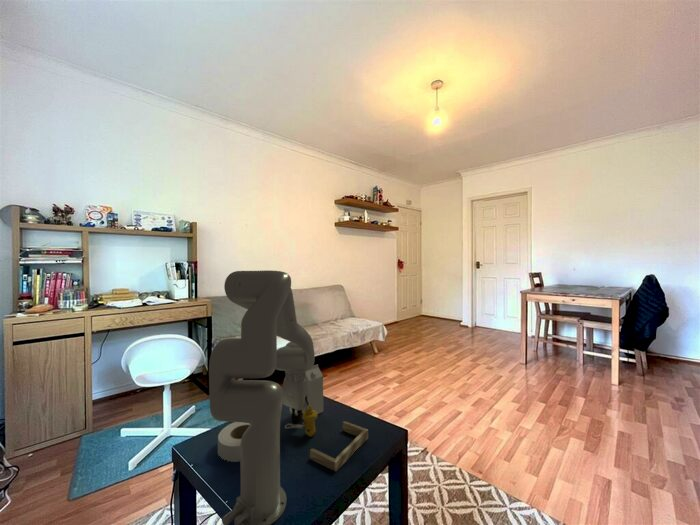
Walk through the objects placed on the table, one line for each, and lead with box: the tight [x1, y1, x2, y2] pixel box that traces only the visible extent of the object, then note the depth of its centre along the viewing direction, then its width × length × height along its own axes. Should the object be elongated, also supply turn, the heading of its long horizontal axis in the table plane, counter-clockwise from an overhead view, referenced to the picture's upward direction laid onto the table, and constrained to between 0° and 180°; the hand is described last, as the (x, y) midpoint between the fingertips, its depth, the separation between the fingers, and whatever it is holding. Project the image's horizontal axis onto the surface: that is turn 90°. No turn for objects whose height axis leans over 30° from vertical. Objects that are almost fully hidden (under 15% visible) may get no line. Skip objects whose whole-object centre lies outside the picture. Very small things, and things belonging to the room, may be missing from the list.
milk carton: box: [301, 364, 324, 415], centre depth 117 cm, size 7×7×19 cm
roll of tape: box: [217, 422, 250, 463], centre depth 95 cm, size 16×16×6 cm
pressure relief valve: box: [284, 406, 319, 438], centre depth 102 cm, size 6×12×10 cm, turn 84°
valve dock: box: [309, 420, 369, 473], centre depth 94 cm, size 19×10×3 cm, turn 147°
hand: (296, 423), depth 106 cm, fingers closed
